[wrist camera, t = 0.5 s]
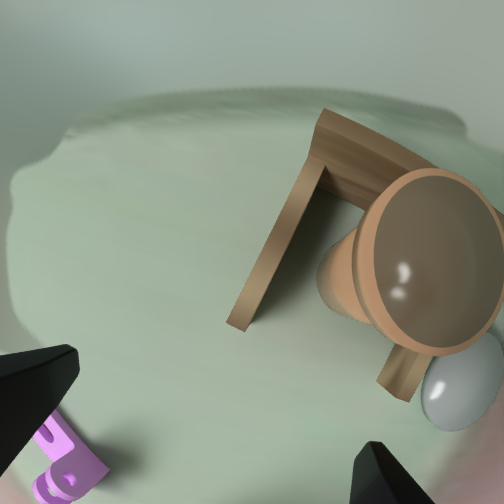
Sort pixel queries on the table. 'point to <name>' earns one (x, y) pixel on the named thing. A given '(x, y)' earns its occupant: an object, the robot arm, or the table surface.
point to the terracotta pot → (421, 264)
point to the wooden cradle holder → (354, 191)
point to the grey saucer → (463, 384)
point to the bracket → (65, 464)
